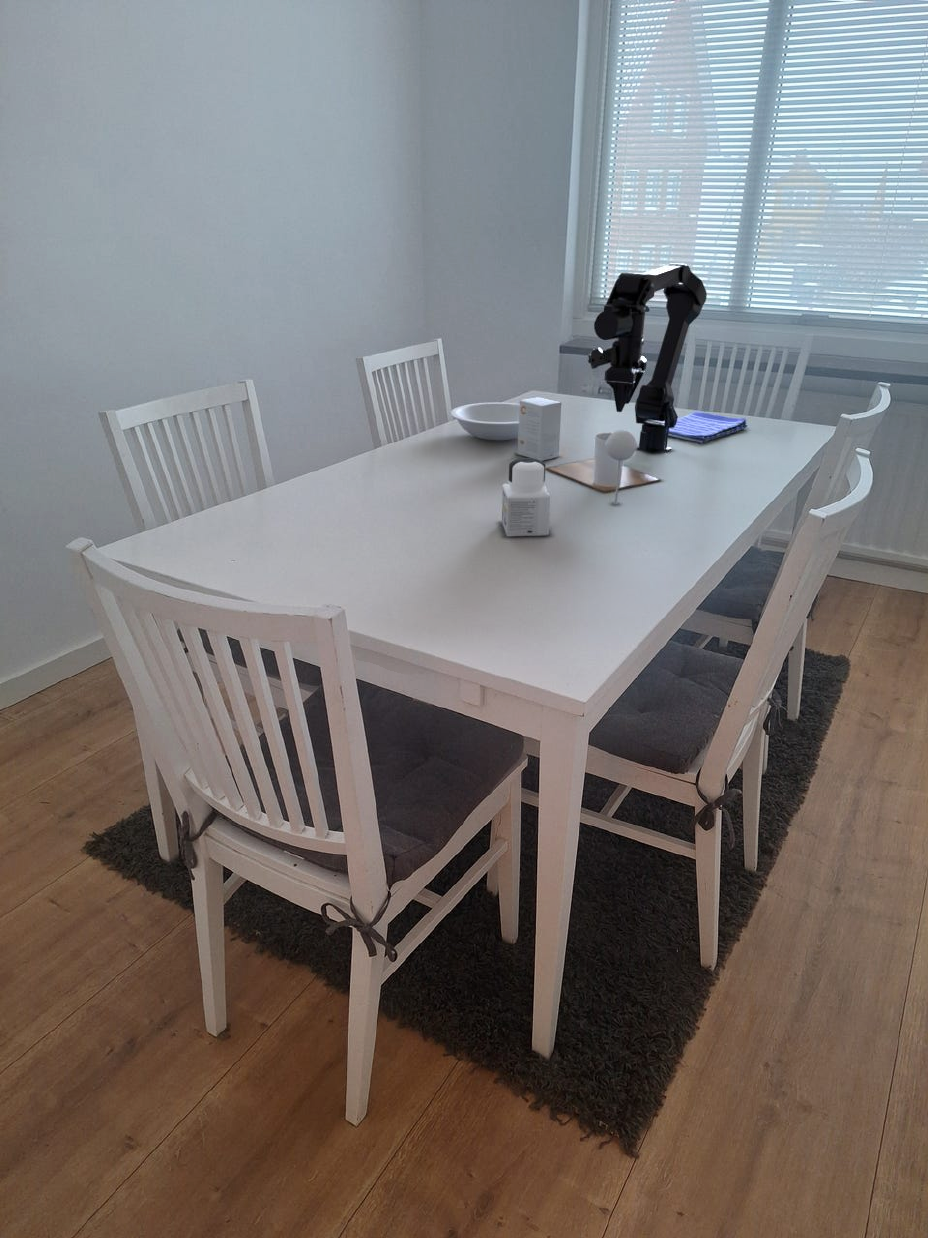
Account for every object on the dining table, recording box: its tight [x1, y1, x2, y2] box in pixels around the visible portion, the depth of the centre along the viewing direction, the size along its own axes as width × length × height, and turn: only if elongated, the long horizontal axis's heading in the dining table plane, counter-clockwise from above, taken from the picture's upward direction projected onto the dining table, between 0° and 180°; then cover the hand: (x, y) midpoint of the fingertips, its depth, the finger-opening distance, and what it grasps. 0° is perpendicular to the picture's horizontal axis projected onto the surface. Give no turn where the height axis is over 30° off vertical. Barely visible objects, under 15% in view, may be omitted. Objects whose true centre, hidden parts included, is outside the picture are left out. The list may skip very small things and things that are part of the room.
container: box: [501, 457, 552, 537], centre depth 148 cm, size 8×8×13 cm
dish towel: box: [668, 411, 748, 444], centre depth 218 cm, size 17×24×3 cm
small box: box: [517, 396, 562, 462], centre depth 193 cm, size 8×6×13 cm
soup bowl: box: [450, 401, 520, 441], centre depth 209 cm, size 24×24×7 cm
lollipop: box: [605, 429, 638, 506], centre depth 160 cm, size 6×6×15 cm
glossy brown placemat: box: [546, 458, 661, 494], centre depth 182 cm, size 16×20×1 cm
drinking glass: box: [593, 432, 625, 487], centre depth 173 cm, size 7×7×10 cm
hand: (622, 407), depth 184 cm, fingers open, 9 cm apart
